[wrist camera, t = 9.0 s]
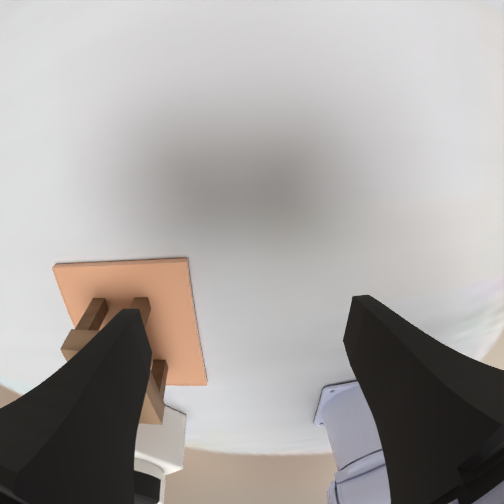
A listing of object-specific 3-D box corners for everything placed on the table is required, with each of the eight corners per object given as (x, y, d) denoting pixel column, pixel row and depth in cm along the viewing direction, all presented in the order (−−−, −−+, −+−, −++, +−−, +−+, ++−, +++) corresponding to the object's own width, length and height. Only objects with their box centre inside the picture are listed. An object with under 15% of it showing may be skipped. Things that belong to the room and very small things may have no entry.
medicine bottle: (107, 409, 27) (87, 495, 17) (131, 387, 26) (109, 490, 15) (157, 433, 30) (149, 515, 19) (187, 414, 28) (183, 511, 17)
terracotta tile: (187, 258, 20) (186, 262, 19) (207, 380, 25) (207, 385, 25) (55, 264, 19) (52, 267, 18) (102, 376, 25) (100, 380, 24)
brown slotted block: (149, 295, 20) (129, 353, 15) (170, 368, 24) (162, 424, 18) (90, 296, 20) (60, 349, 14) (119, 367, 23) (103, 419, 18)
